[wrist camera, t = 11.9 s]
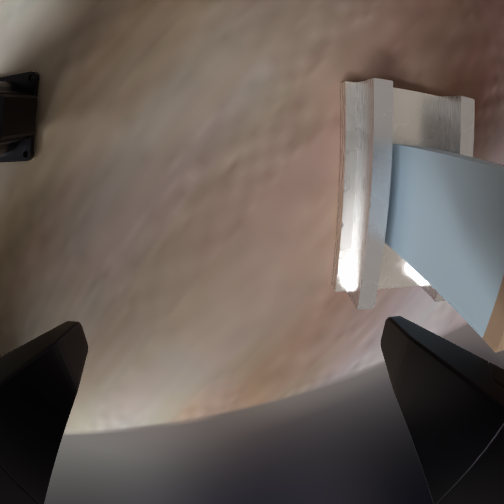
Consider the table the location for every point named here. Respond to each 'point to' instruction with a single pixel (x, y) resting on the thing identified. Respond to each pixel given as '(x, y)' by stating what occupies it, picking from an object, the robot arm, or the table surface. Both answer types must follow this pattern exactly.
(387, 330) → the robot arm
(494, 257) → the door panel
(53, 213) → the table surface
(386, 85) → the door track
